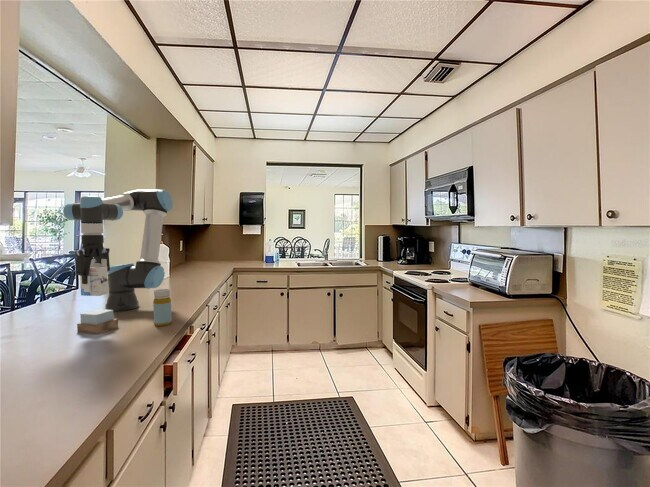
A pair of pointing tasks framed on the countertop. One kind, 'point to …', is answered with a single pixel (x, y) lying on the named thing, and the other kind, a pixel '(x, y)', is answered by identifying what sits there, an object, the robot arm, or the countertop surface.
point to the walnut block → (97, 327)
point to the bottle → (162, 307)
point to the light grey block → (96, 316)
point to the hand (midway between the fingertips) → (94, 290)
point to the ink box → (97, 279)
